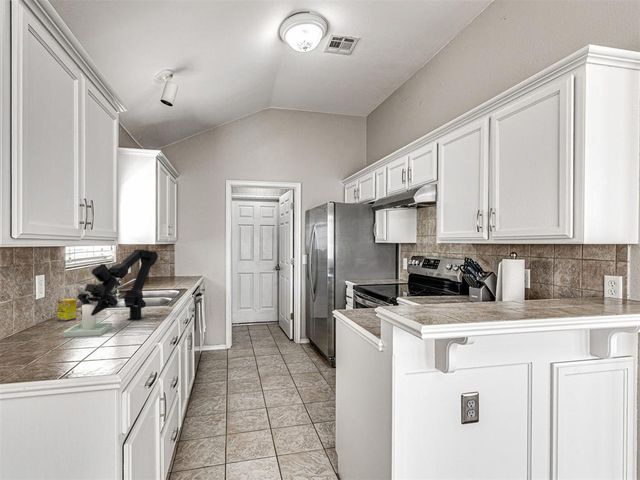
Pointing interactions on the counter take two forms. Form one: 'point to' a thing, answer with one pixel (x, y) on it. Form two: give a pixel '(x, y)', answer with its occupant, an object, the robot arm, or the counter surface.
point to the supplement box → (66, 309)
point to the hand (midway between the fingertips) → (86, 314)
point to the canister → (88, 317)
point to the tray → (78, 332)
